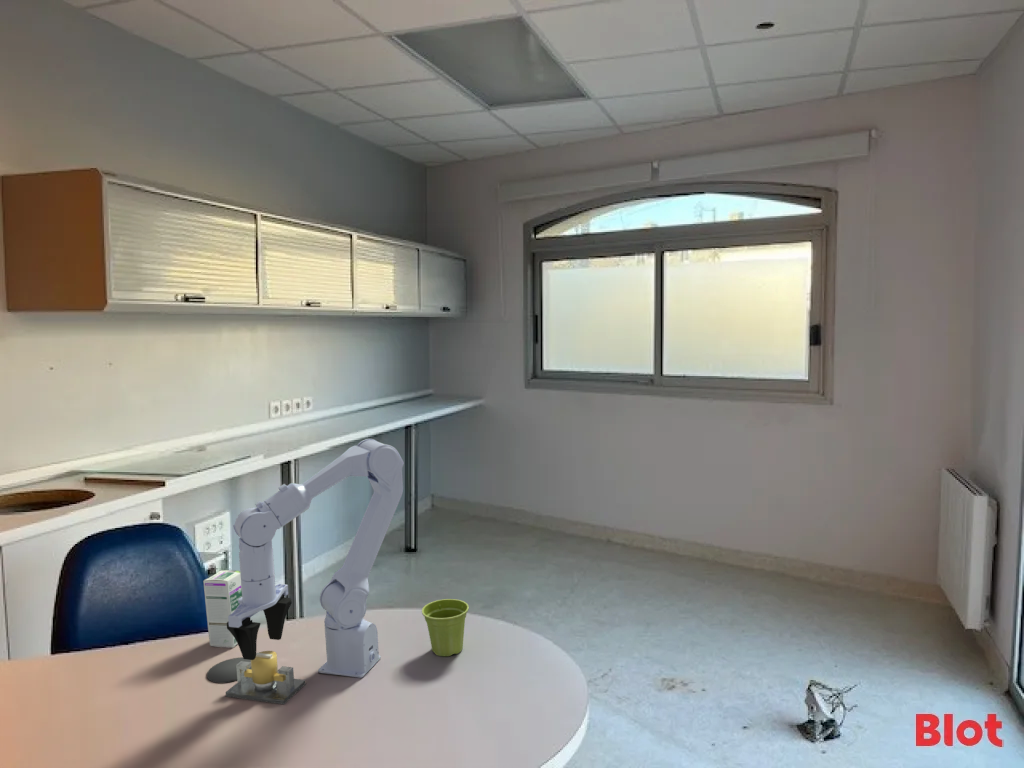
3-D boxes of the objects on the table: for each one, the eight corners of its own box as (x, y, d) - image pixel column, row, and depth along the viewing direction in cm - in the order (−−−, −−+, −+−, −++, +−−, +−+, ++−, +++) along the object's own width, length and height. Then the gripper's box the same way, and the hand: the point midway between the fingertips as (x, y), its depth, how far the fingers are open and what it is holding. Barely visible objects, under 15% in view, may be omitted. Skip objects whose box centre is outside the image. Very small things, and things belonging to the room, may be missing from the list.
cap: (291, 673, 126) (290, 651, 125) (277, 686, 121) (275, 662, 121) (253, 669, 128) (252, 646, 127) (238, 681, 124) (236, 658, 123)
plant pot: (417, 659, 134) (414, 616, 134) (432, 637, 143) (430, 597, 143) (462, 663, 132) (460, 620, 131) (475, 640, 141) (474, 599, 141)
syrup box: (233, 648, 142) (228, 580, 140) (208, 646, 143) (202, 579, 141) (249, 635, 147) (244, 570, 146) (224, 634, 148) (219, 569, 147)
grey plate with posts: (305, 684, 127) (304, 660, 126) (283, 704, 120) (282, 679, 120) (249, 677, 130) (248, 653, 129) (225, 696, 123) (223, 671, 123)
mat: (266, 661, 136) (266, 660, 136) (237, 685, 127) (236, 683, 127) (228, 656, 138) (228, 655, 138) (196, 679, 129) (196, 678, 129)
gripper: (263, 560, 131) (268, 628, 132) (211, 589, 117) (216, 665, 118) (295, 562, 129) (300, 632, 130) (246, 592, 115) (251, 670, 116)
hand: (262, 648), depth 124 cm, fingers open, 7 cm apart
